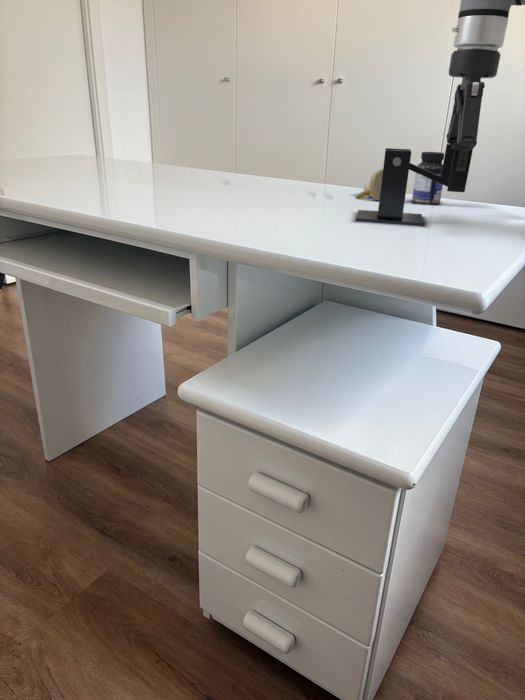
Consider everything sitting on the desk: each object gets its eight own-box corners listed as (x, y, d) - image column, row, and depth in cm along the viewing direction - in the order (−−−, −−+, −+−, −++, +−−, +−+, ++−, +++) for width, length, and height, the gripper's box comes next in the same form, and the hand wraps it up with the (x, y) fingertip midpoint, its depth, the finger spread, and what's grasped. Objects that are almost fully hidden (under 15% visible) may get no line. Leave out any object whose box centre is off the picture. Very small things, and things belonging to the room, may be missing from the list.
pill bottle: (432, 202, 123) (440, 151, 118) (444, 207, 118) (453, 154, 113) (406, 202, 122) (414, 151, 118) (417, 207, 117) (425, 153, 112)
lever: (452, 191, 98) (459, 179, 97) (455, 195, 93) (462, 182, 92) (386, 162, 98) (392, 149, 97) (386, 165, 94) (392, 151, 93)
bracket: (420, 220, 103) (431, 149, 98) (423, 229, 95) (435, 153, 90) (357, 215, 105) (365, 146, 100) (355, 224, 97) (362, 149, 92)
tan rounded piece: (378, 196, 131) (400, 161, 123) (386, 221, 125) (409, 185, 117) (351, 188, 129) (371, 151, 121) (357, 213, 122) (379, 176, 115)
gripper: (445, 55, 98) (425, 176, 107) (461, 41, 76) (435, 194, 85) (488, 56, 97) (464, 179, 106) (517, 42, 75) (484, 198, 84)
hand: (451, 186), depth 95 cm, fingers open, 13 cm apart
